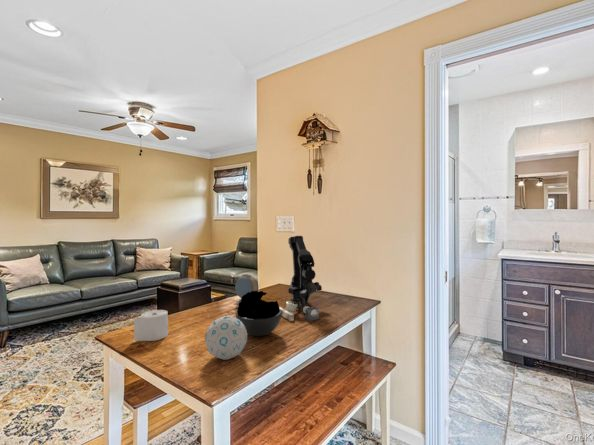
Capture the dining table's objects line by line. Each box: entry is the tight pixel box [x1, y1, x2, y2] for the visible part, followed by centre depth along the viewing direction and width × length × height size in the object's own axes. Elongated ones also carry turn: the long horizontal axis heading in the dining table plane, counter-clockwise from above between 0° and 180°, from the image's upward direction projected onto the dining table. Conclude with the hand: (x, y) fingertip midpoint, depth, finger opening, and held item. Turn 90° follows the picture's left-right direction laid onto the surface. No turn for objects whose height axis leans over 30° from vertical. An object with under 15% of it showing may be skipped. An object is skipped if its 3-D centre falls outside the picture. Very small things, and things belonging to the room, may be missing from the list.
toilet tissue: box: [133, 309, 169, 342], centre depth 131 cm, size 11×12×10 cm
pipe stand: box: [302, 305, 320, 322], centre depth 153 cm, size 8×6×6 cm
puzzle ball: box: [204, 315, 248, 361], centre depth 112 cm, size 15×15×15 cm
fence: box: [279, 306, 295, 322], centre depth 158 cm, size 18×2×3 cm, turn 32°
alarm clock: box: [233, 273, 259, 306], centre depth 179 cm, size 14×10×18 cm
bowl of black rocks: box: [235, 290, 283, 337], centre depth 133 cm, size 20×20×19 cm
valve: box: [285, 298, 306, 314], centre depth 162 cm, size 7×7×12 cm
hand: (305, 304), depth 168 cm, fingers closed
